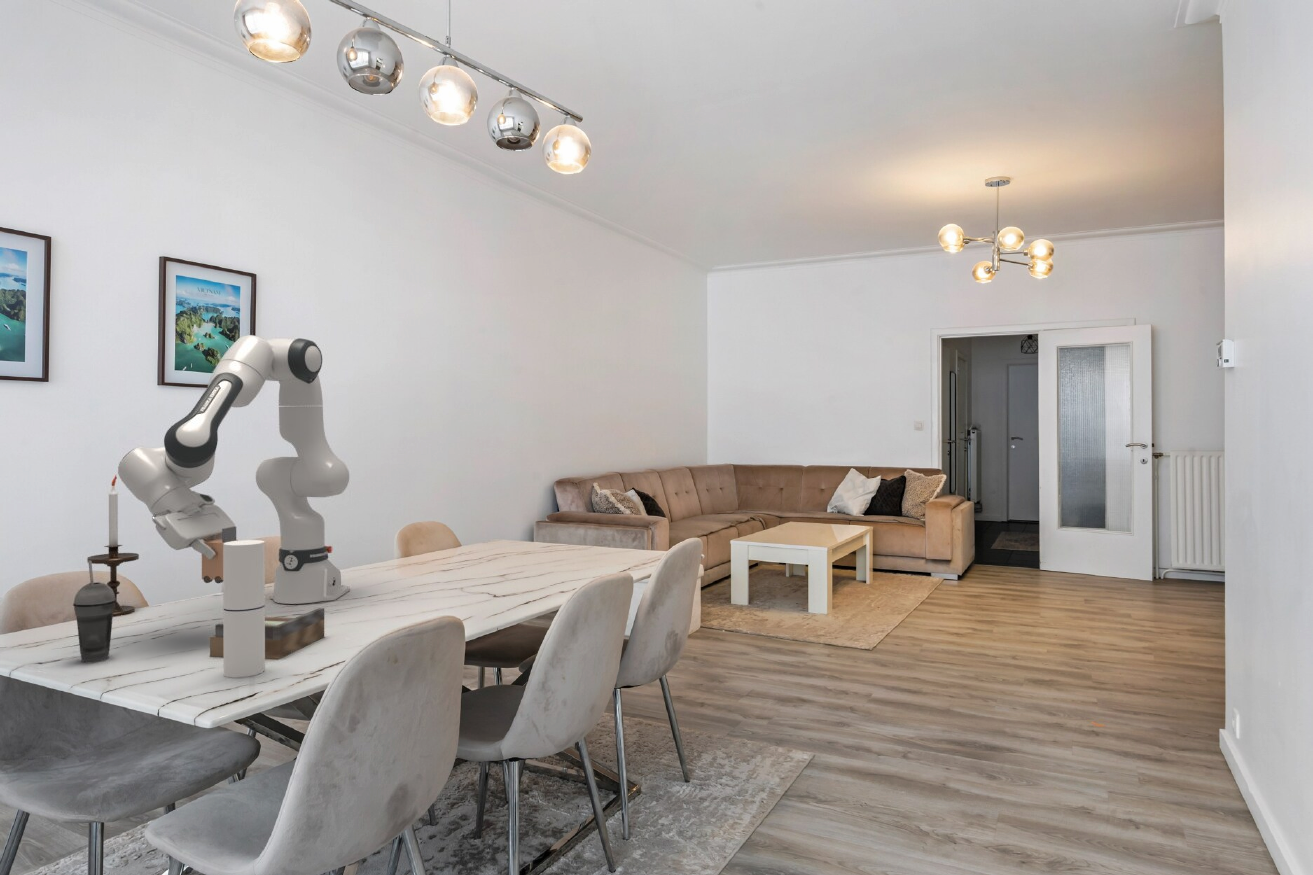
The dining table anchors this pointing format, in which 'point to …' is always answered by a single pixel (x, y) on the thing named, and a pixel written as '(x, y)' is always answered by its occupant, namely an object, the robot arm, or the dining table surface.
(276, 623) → the dock
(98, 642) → the beverage cup
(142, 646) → the dining table surface
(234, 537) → the tan block
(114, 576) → the candlestick
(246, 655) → the cylindrical container
